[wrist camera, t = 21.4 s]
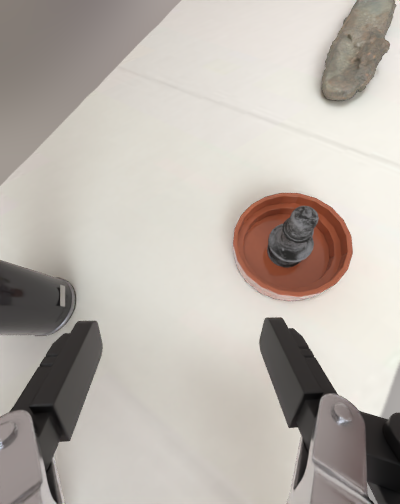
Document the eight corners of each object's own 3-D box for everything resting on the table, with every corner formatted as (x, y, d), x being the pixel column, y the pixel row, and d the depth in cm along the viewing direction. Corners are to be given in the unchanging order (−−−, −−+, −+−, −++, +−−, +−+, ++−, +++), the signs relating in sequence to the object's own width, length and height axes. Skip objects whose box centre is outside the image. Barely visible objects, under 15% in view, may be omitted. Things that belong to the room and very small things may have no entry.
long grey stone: (397, 10, 50) (349, 11, 54) (412, -26, 46) (359, -21, 49) (365, 108, 40) (308, 102, 43) (382, 75, 35) (316, 71, 38)
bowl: (229, 294, 33) (228, 288, 29) (238, 206, 38) (238, 191, 34) (341, 307, 30) (357, 303, 26) (335, 210, 35) (347, 194, 31)
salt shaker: (294, 228, 34) (322, 176, 23) (313, 261, 32) (354, 222, 21) (258, 241, 34) (269, 196, 23) (275, 275, 32) (295, 244, 21)
